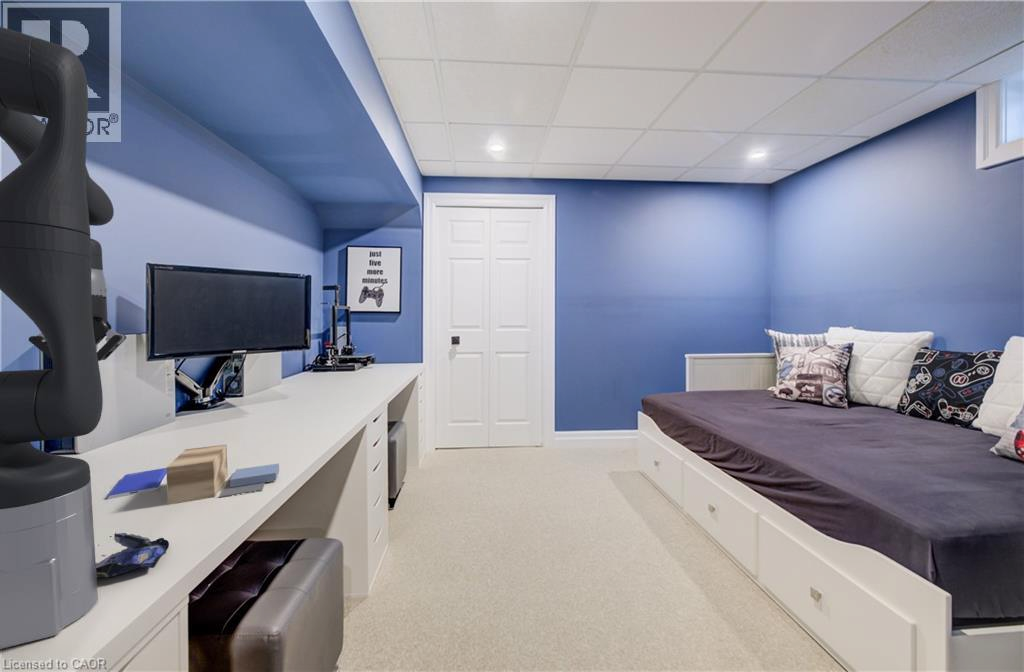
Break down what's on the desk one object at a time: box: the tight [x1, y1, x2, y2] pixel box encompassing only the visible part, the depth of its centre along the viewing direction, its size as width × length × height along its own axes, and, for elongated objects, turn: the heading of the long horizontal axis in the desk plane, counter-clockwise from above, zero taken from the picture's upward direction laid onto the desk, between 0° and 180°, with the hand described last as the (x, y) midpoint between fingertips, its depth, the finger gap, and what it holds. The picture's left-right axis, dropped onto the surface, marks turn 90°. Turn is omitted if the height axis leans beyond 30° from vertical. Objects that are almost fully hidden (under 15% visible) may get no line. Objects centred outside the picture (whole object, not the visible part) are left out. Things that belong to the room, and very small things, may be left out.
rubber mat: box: [218, 471, 266, 499], centre depth 92 cm, size 14×8×1 cm, turn 26°
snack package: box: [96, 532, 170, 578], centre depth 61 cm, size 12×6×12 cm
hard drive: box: [107, 467, 167, 500], centre depth 91 cm, size 2×8×12 cm
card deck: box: [229, 463, 280, 487], centre depth 93 cm, size 6×9×2 cm
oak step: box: [165, 444, 229, 505], centre depth 88 cm, size 12×8×8 cm, turn 26°
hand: (82, 384), depth 73 cm, fingers closed
